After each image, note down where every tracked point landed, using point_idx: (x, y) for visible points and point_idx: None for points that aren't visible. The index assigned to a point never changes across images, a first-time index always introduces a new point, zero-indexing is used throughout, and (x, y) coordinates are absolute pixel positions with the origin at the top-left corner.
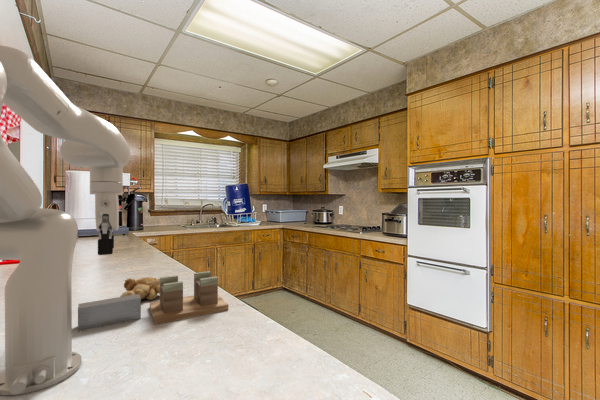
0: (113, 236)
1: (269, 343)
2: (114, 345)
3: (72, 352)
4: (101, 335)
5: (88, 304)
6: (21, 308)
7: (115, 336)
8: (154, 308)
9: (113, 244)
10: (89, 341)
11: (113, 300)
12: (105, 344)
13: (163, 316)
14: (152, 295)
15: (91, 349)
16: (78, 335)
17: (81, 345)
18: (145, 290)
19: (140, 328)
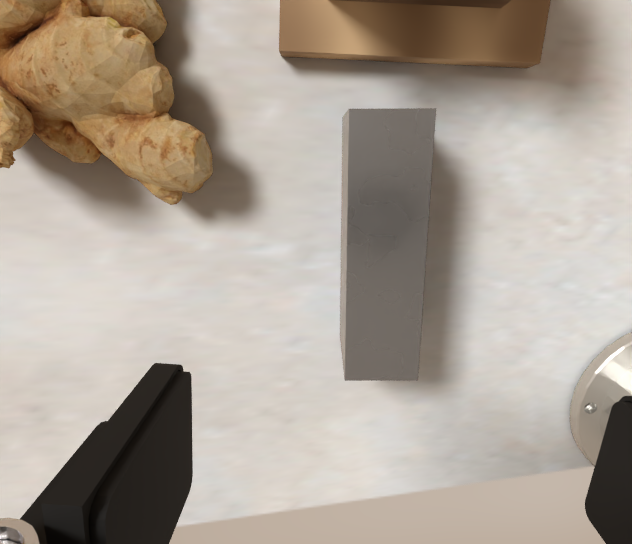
0: (97, 489)
1: None
2: (616, 230)
3: (630, 348)
4: (493, 267)
5: (383, 344)
6: None
7: (538, 224)
8: (388, 40)
9: (160, 394)
10: (519, 301)
11: (391, 243)
12: (585, 256)
13: (536, 17)
14: (160, 15)
15: (592, 295)
16: (438, 333)
17: (535, 322)
18: (150, 50)
19: (525, 131)
